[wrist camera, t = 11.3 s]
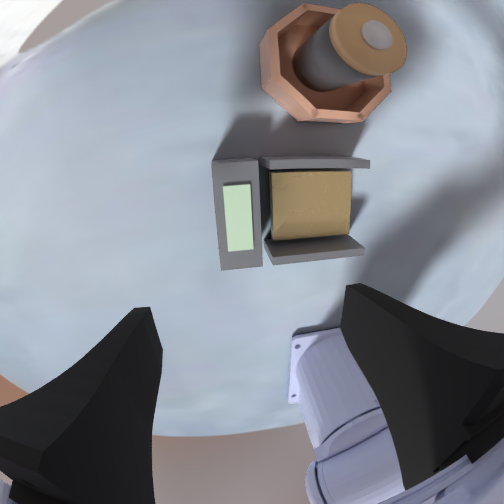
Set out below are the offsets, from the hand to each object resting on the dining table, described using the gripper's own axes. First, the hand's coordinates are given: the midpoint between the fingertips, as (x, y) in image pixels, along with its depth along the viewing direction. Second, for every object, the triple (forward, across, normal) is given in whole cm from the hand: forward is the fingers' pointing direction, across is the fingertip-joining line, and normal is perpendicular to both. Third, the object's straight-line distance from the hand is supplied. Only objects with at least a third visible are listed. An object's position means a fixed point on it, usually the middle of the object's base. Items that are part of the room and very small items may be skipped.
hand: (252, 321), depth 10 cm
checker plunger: (+9, -5, -2) cm, 10 cm away
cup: (+9, -6, -11) cm, 16 cm away
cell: (+9, -6, -11) cm, 15 cm away
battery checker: (+9, -3, -2) cm, 10 cm away
